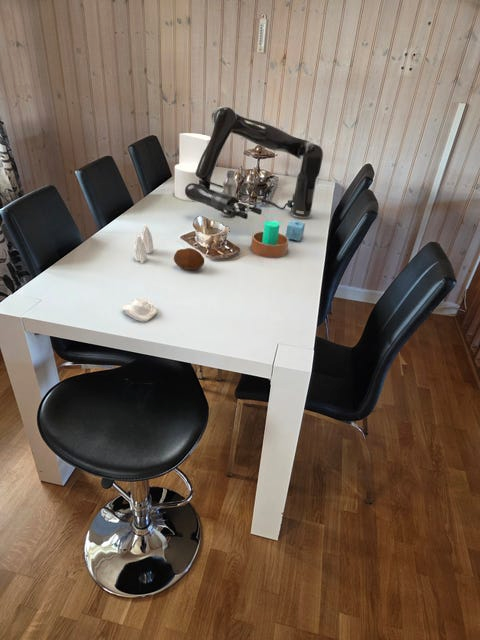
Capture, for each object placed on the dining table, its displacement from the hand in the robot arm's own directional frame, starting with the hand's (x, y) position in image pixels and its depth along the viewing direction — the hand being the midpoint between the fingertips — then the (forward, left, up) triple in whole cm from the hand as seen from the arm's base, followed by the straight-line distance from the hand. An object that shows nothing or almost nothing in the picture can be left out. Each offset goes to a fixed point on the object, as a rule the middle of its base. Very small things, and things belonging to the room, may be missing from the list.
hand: (254, 214), depth 172 cm
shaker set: (+1, -45, -12) cm, 46 cm away
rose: (+38, -57, -12) cm, 69 cm away
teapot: (+2, +19, -12) cm, 23 cm away
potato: (+15, -33, -12) cm, 38 cm away
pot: (+9, +3, -12) cm, 15 cm away
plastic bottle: (-30, +3, -12) cm, 33 cm away
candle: (+9, +3, -11) cm, 15 cm away
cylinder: (-61, -3, -12) cm, 62 cm away
